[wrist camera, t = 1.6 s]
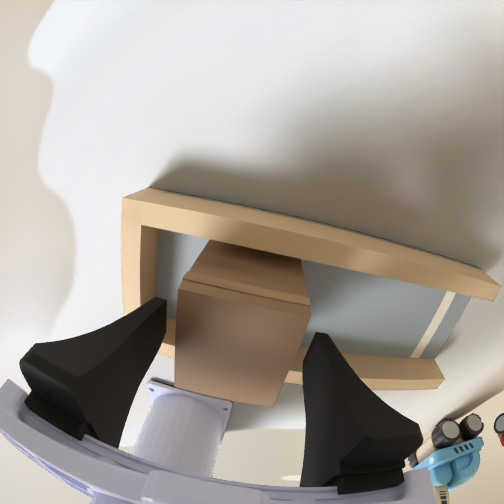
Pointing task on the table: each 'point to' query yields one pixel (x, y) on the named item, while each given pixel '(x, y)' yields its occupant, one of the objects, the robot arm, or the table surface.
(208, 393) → the box
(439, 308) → the bay
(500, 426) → the toy fire truck
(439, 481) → the toy excavator
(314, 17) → the table surface
